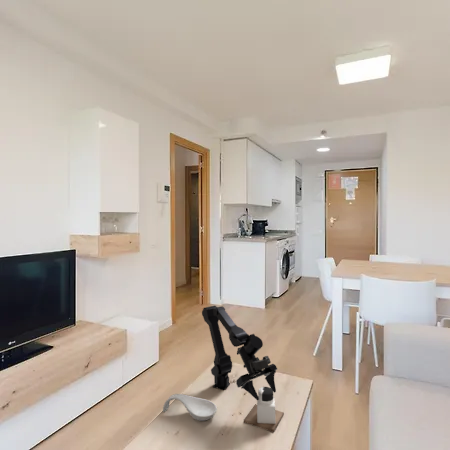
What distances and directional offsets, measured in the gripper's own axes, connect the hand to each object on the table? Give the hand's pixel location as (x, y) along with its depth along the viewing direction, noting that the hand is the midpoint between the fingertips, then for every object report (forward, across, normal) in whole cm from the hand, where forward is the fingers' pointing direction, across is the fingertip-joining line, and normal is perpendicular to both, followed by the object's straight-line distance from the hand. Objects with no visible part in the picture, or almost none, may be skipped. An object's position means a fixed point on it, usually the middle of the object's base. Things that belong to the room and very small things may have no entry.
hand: (266, 395), depth 129 cm
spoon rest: (-8, -23, +24) cm, 35 cm away
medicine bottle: (+6, 0, +7) cm, 10 cm away
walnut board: (+6, 0, +9) cm, 11 cm away
